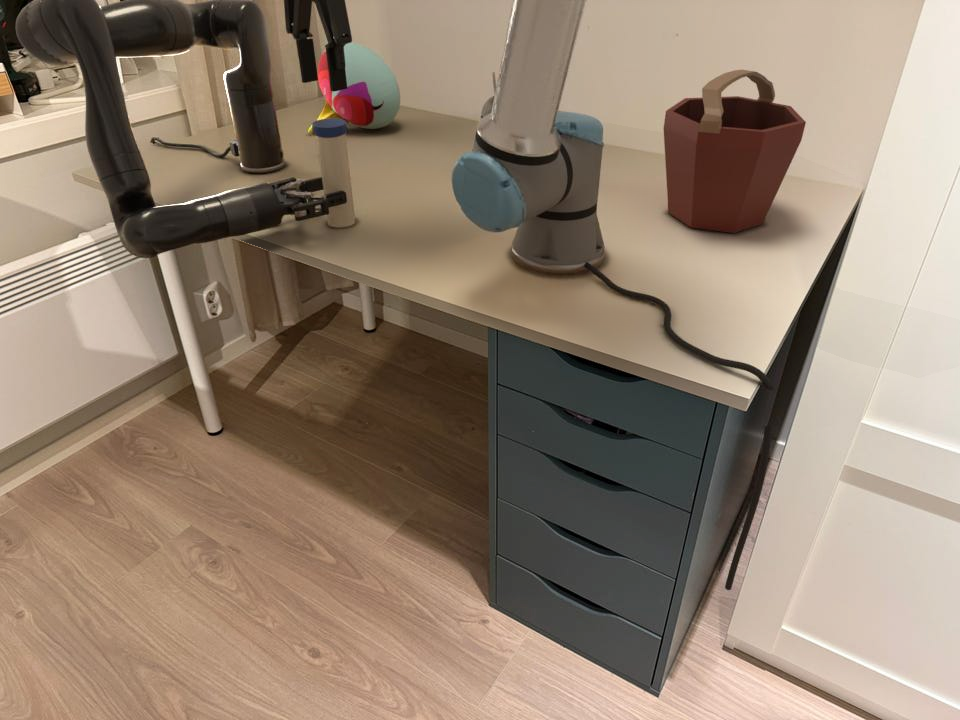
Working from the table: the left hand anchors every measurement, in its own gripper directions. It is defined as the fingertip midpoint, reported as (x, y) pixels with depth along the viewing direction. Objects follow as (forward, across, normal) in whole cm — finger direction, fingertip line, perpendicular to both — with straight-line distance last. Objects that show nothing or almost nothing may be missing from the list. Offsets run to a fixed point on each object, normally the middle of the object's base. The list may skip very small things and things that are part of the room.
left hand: (334, 189), depth 126 cm
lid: (0, 0, -11) cm, 11 cm away
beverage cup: (+40, +5, +6) cm, 41 cm away
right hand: (0, 0, -18) cm, 18 cm away
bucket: (+58, -38, +6) cm, 70 cm away
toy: (+30, +53, +6) cm, 61 cm away
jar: (0, 0, +6) cm, 6 cm away
